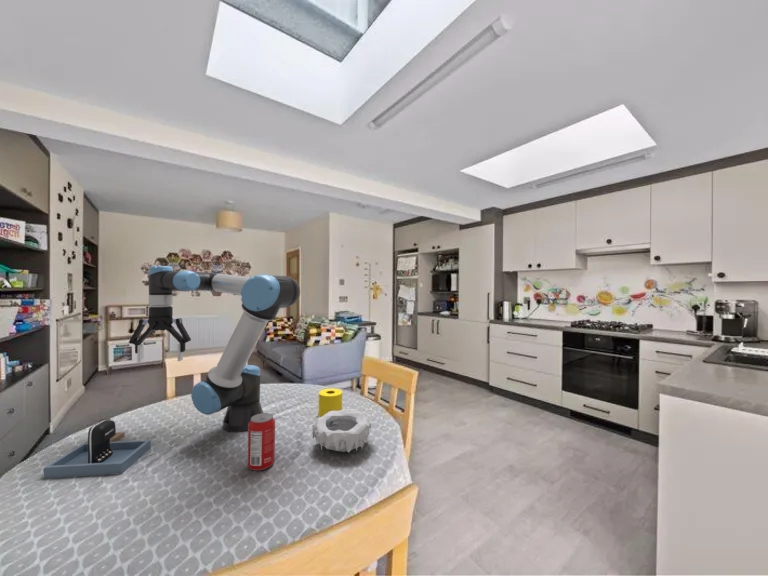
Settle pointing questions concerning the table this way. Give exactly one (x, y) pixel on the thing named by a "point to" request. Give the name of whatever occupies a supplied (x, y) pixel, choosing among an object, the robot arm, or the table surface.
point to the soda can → (261, 441)
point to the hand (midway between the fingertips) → (160, 361)
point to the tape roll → (329, 401)
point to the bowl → (342, 430)
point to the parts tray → (115, 464)
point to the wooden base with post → (117, 435)
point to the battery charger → (100, 441)
